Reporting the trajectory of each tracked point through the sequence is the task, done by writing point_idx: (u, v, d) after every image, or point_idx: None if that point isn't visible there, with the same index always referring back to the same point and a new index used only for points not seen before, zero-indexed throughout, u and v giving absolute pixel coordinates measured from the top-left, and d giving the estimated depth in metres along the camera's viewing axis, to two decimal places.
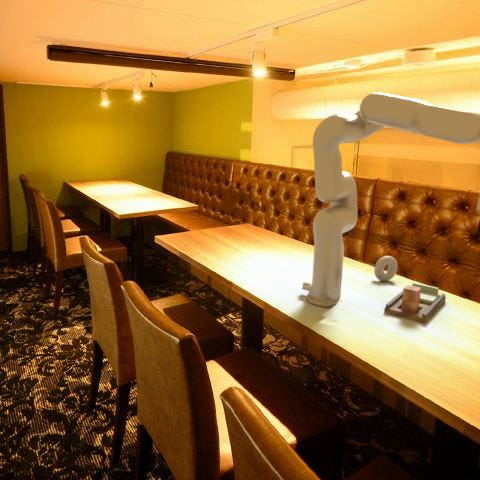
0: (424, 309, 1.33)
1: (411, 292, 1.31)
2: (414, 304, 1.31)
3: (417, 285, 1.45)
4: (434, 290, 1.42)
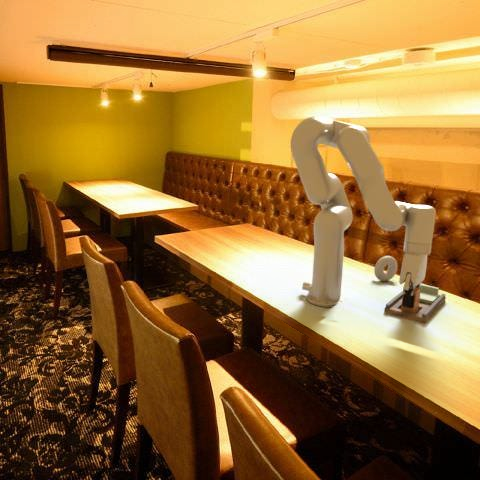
0: (424, 309, 1.33)
1: None
2: (414, 304, 1.31)
3: None
4: (434, 290, 1.42)
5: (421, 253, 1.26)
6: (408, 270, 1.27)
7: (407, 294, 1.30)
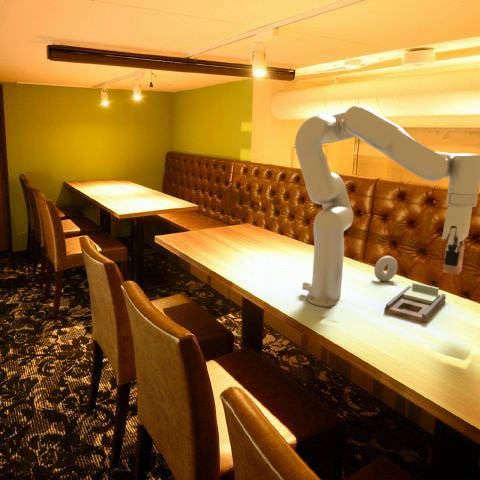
0: (424, 309, 1.33)
1: None
2: (458, 261, 1.22)
3: (417, 285, 1.45)
4: (434, 290, 1.42)
5: (467, 205, 1.17)
6: (453, 224, 1.18)
7: (451, 251, 1.21)
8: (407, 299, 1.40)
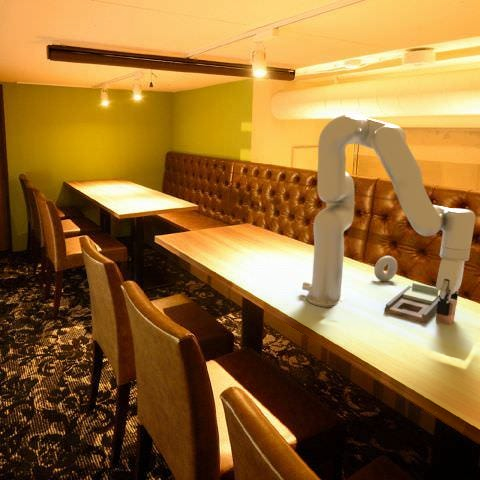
0: (424, 309, 1.33)
1: None
2: (450, 317, 1.26)
3: (417, 285, 1.45)
4: (434, 290, 1.42)
5: (460, 259, 1.20)
6: (446, 277, 1.22)
7: (442, 300, 1.23)
8: (407, 299, 1.40)
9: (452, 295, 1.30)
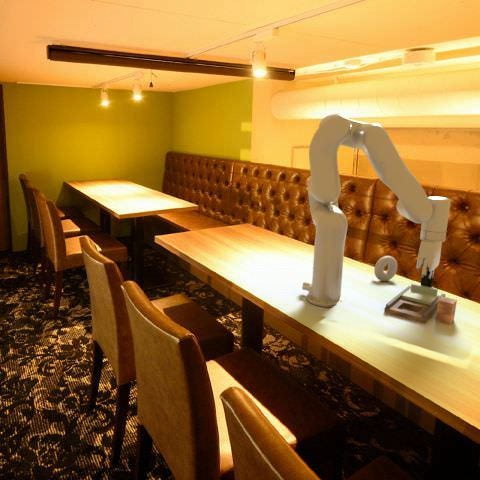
0: (424, 309, 1.33)
1: (446, 304, 1.26)
2: (450, 317, 1.26)
3: (416, 286, 1.44)
4: (433, 291, 1.41)
5: (437, 240, 1.37)
6: (425, 256, 1.38)
7: (425, 278, 1.43)
8: None
9: None
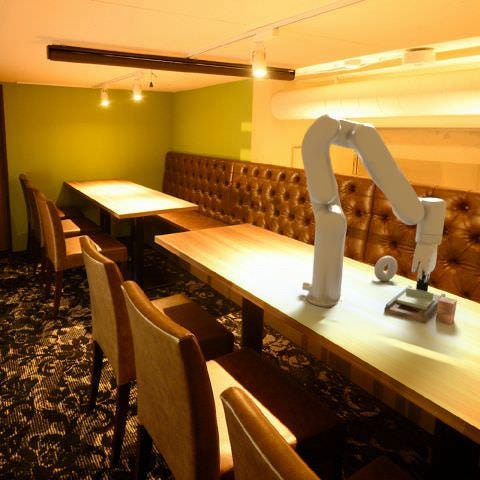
0: None
1: (446, 304, 1.26)
2: (450, 317, 1.26)
3: (411, 290, 1.41)
4: (429, 295, 1.37)
5: (432, 243, 1.34)
6: (420, 259, 1.35)
7: (420, 281, 1.39)
8: None
9: None
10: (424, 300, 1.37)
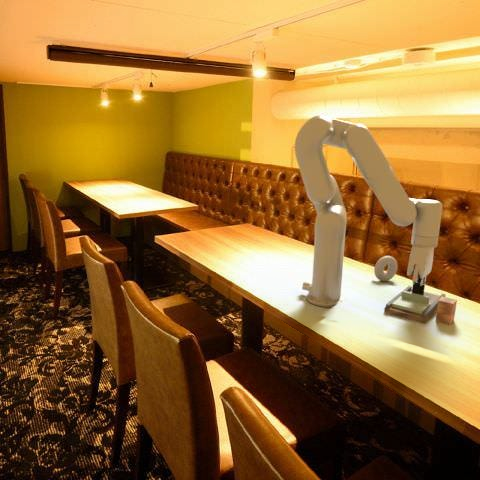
0: None
1: (446, 304, 1.26)
2: (450, 317, 1.26)
3: (407, 294, 1.37)
4: (424, 299, 1.34)
5: (428, 246, 1.30)
6: (416, 262, 1.32)
7: (416, 285, 1.36)
8: None
9: None
10: (420, 304, 1.33)
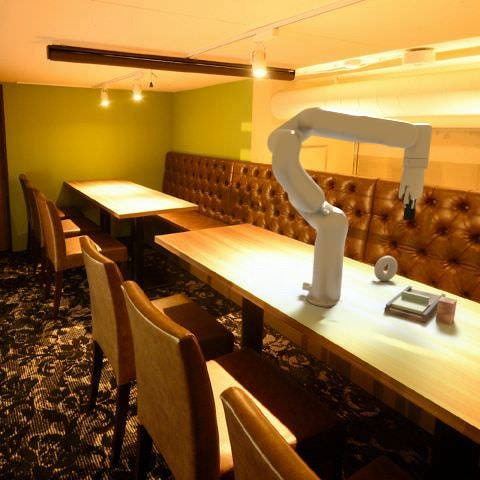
0: None
1: (446, 304, 1.26)
2: (450, 317, 1.26)
3: (407, 294, 1.37)
4: (424, 299, 1.34)
5: (419, 167, 1.36)
6: (407, 184, 1.37)
7: (408, 208, 1.42)
8: None
9: None
10: (420, 304, 1.33)
